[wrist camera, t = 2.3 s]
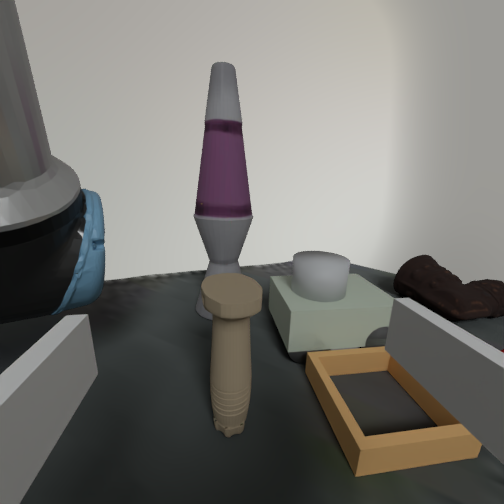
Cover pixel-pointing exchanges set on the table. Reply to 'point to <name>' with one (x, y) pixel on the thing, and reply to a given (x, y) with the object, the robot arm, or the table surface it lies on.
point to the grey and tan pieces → (356, 362)
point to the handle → (230, 346)
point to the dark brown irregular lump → (449, 290)
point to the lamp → (222, 178)
